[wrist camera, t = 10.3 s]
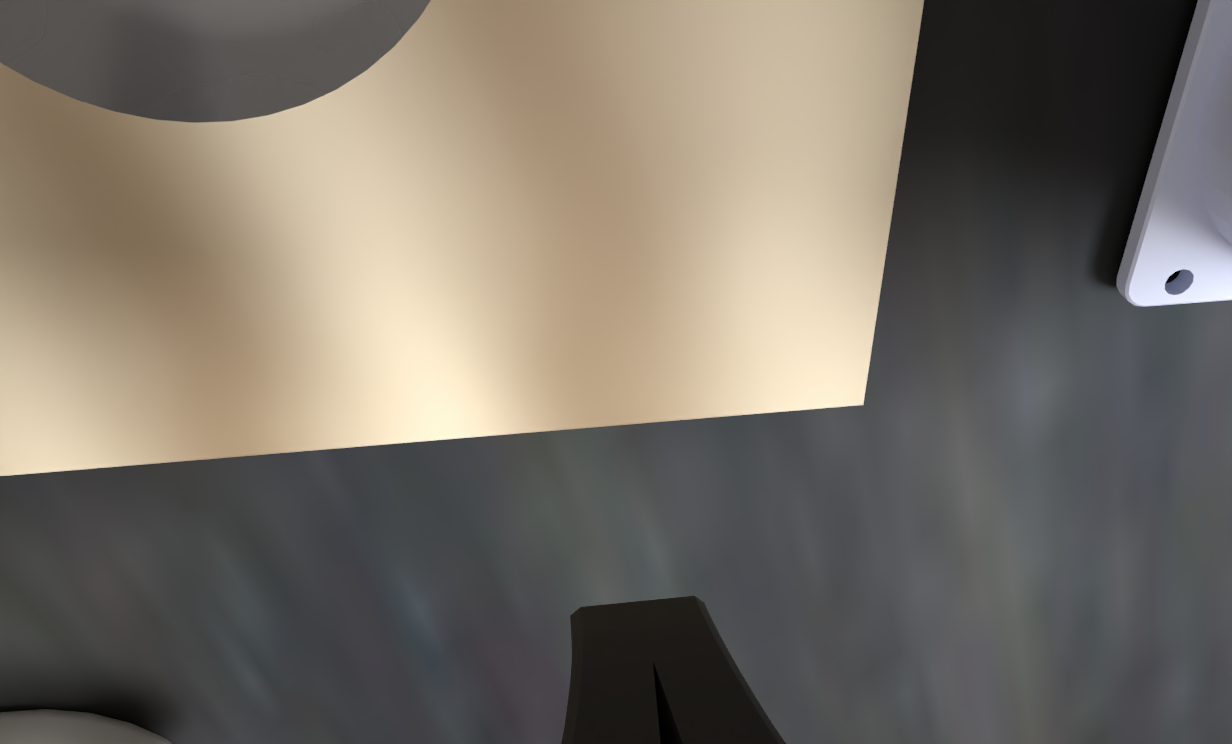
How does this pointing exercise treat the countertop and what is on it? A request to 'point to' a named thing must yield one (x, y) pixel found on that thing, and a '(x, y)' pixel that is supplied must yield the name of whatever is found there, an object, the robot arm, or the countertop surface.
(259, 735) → the countertop surface
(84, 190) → the lock board
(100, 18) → the lever
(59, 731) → the cup
